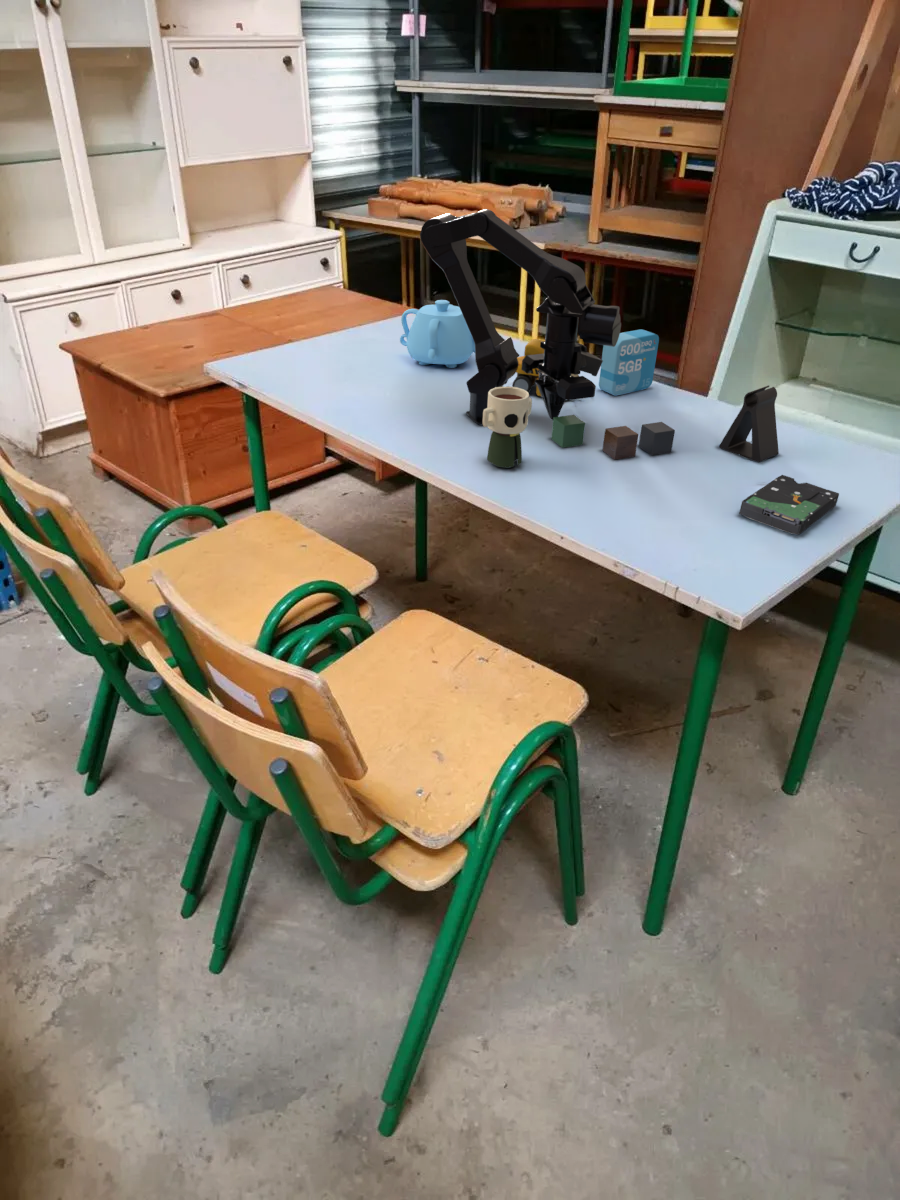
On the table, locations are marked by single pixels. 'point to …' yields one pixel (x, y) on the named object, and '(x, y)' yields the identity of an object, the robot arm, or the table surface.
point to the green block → (568, 431)
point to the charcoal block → (656, 438)
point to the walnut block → (620, 442)
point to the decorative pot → (438, 335)
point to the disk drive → (788, 504)
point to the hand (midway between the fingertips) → (553, 419)
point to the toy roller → (528, 380)
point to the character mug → (506, 424)
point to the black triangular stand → (754, 427)
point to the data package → (629, 363)
